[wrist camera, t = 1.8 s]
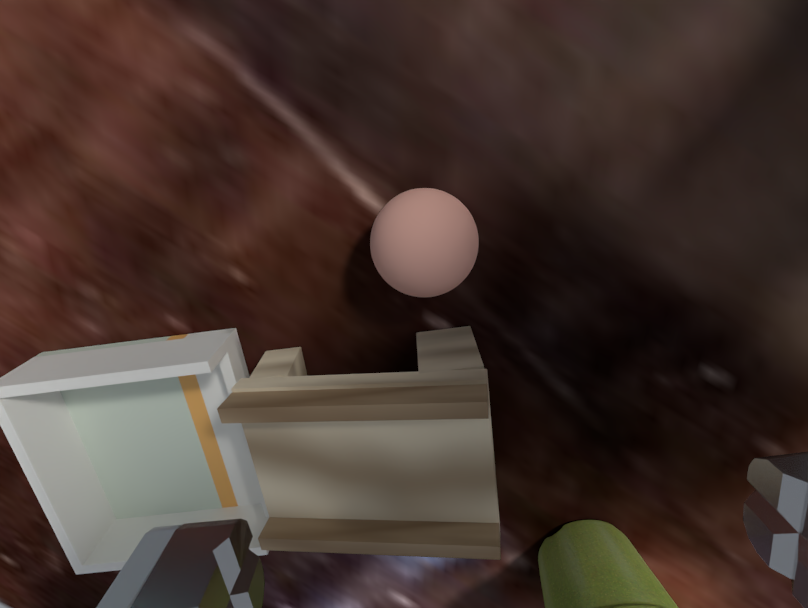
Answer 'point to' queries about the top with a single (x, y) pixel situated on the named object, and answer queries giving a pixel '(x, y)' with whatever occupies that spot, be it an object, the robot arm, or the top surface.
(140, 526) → the tray
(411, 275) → the rubber ball
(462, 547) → the launch ramp
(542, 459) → the top surface
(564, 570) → the plant pot
